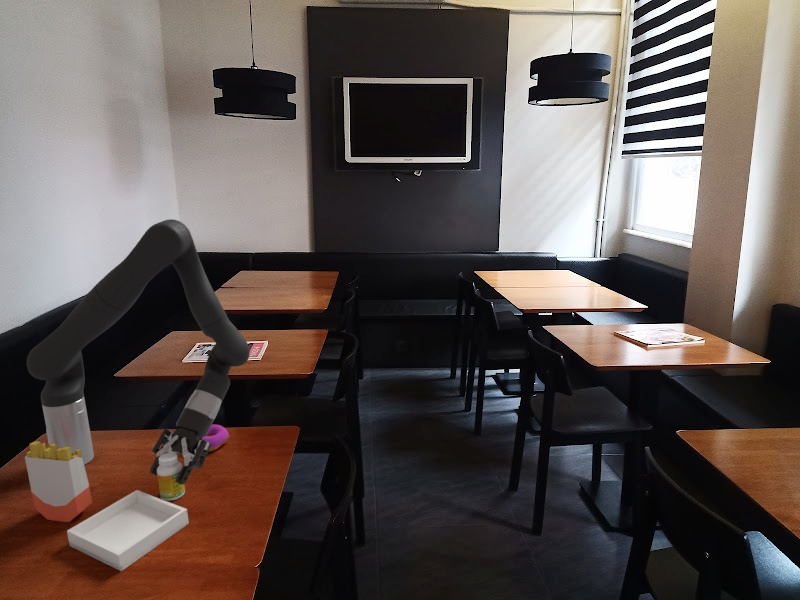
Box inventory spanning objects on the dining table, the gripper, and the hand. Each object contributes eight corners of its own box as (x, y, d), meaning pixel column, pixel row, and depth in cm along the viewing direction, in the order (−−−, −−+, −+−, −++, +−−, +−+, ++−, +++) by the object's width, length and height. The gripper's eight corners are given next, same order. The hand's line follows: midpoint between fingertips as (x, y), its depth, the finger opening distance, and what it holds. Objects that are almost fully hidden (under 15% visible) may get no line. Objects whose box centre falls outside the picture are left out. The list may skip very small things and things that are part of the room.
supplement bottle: (176, 502, 126) (171, 464, 123) (155, 500, 127) (150, 461, 125) (189, 489, 131) (185, 452, 129) (169, 487, 132) (164, 450, 130)
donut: (211, 456, 146) (210, 441, 145) (181, 450, 149) (179, 435, 148) (236, 439, 155) (235, 424, 154) (207, 433, 159) (205, 418, 158)
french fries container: (53, 506, 125) (39, 433, 121) (95, 511, 123) (82, 437, 119) (36, 518, 121) (21, 443, 117) (79, 523, 119) (65, 447, 115)
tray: (69, 545, 112) (66, 530, 111) (138, 503, 126) (136, 489, 125) (121, 571, 104) (118, 555, 104) (188, 523, 118) (186, 509, 117)
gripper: (169, 401, 134) (133, 466, 127) (211, 412, 128) (176, 482, 120) (188, 413, 140) (156, 476, 133) (230, 424, 133) (198, 491, 126)
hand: (166, 478), depth 127 cm, fingers open, 8 cm apart
